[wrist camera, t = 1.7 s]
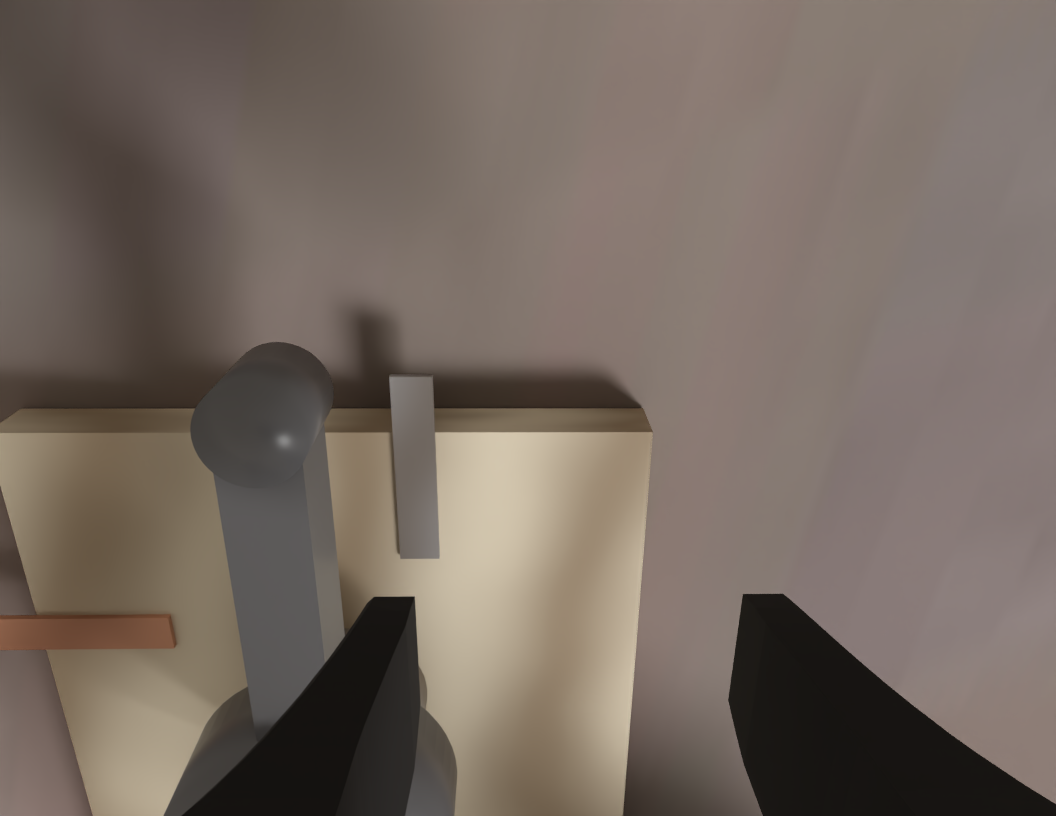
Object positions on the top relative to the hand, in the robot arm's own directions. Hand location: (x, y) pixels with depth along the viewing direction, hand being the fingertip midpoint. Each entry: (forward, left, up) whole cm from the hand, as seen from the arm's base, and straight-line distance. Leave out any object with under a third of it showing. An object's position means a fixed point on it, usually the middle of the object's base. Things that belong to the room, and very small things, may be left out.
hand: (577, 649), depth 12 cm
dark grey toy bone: (+6, +4, -5) cm, 9 cm away
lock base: (+6, +7, -9) cm, 13 cm away
